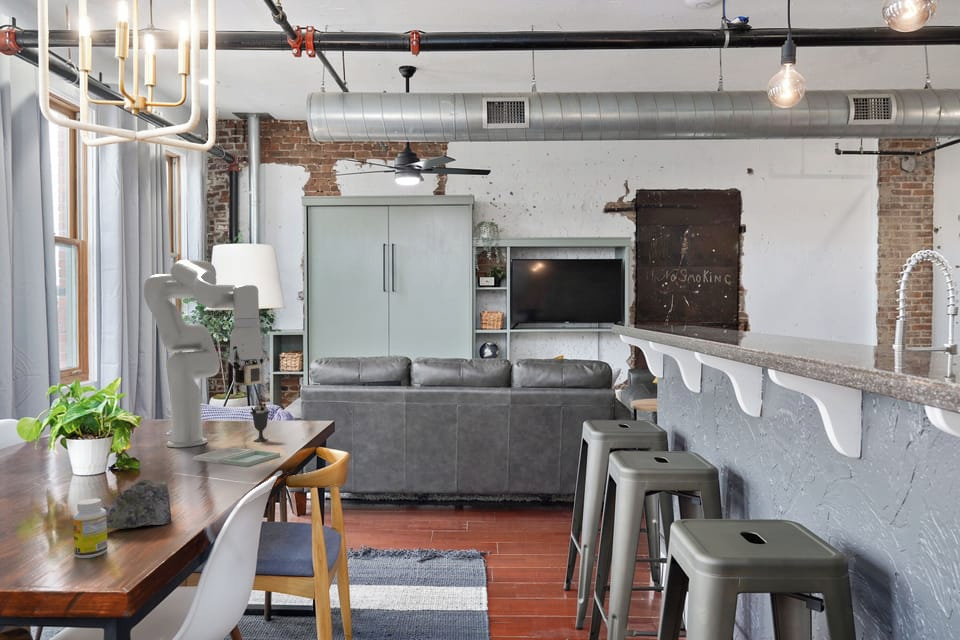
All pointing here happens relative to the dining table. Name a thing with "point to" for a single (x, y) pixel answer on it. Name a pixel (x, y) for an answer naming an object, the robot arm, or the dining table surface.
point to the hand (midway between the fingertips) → (247, 380)
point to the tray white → (220, 454)
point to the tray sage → (250, 458)
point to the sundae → (260, 419)
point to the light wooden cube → (251, 374)
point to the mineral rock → (140, 506)
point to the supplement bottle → (90, 529)
